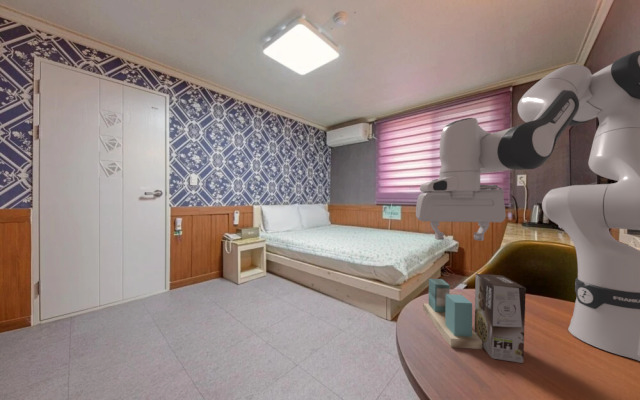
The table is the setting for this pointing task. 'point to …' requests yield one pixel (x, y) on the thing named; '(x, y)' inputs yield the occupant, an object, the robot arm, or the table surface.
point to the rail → (437, 316)
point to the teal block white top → (458, 315)
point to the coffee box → (500, 316)
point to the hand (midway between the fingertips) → (458, 239)
